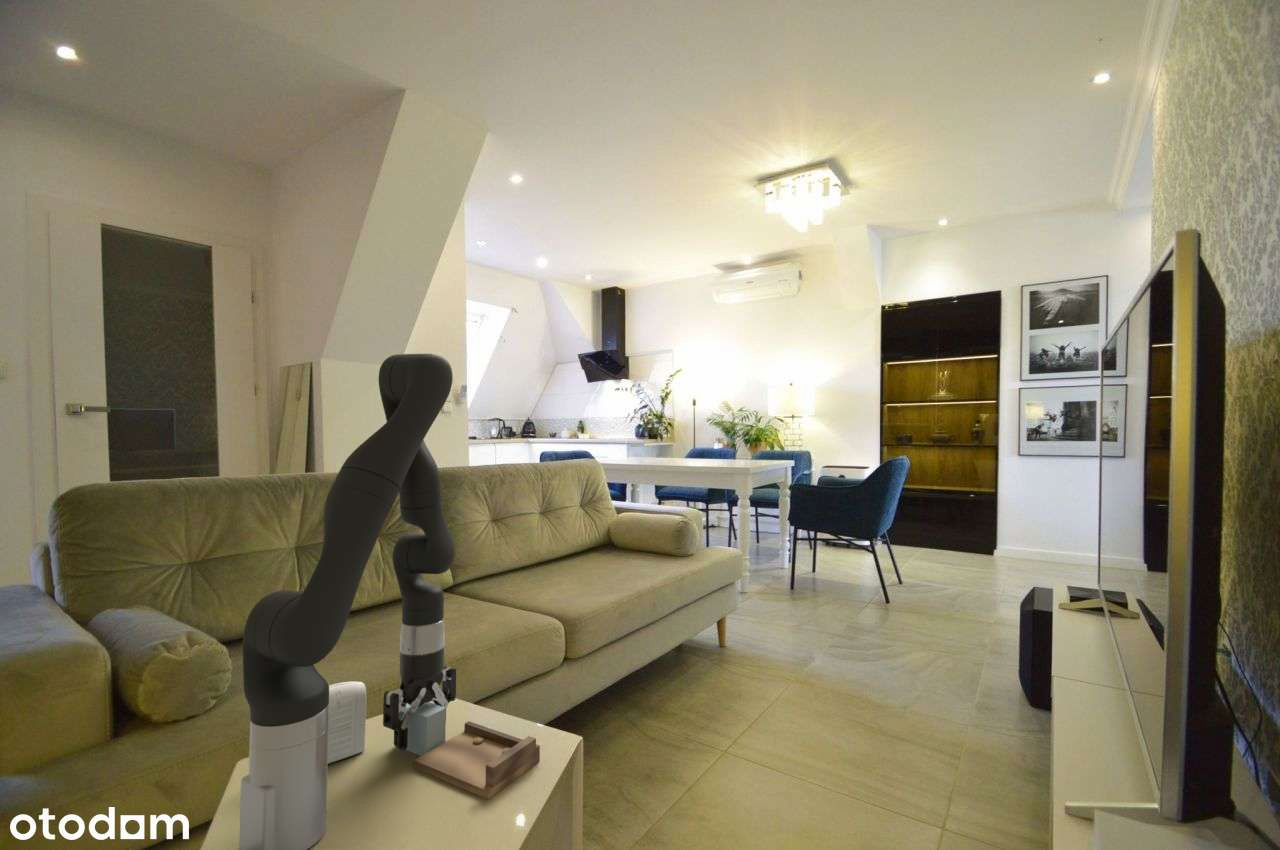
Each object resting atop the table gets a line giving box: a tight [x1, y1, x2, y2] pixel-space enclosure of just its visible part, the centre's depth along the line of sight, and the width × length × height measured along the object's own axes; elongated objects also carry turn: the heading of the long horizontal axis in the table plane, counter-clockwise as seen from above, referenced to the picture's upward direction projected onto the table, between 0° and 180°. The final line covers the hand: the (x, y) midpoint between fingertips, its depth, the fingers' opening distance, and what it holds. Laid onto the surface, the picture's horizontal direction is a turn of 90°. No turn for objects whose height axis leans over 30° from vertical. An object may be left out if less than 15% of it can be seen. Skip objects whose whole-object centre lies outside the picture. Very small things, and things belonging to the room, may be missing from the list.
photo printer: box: [327, 681, 367, 765], centre depth 96 cm, size 10×4×12 cm, turn 134°
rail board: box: [413, 720, 541, 800], centre depth 94 cm, size 12×17×4 cm
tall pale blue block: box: [401, 701, 447, 757], centre depth 100 cm, size 4×8×7 cm, turn 60°
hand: (420, 738), depth 100 cm, fingers open, 7 cm apart
